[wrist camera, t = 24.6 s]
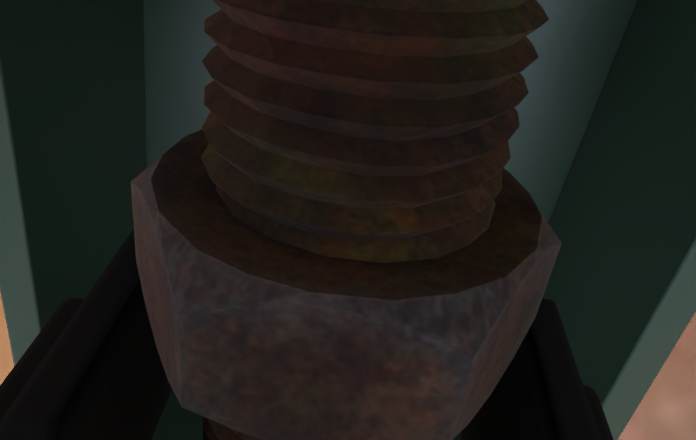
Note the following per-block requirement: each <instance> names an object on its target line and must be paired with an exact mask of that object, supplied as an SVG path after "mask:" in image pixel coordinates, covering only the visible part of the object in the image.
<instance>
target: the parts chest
mask: <svg viewBox="0 0 696 440" xmlns="http://www.w3.org/2000/svg"><path fill="white" fill-rule="evenodd" d="M536 1H537V2H538V3H539V4H540V5H541V6H542V8H543V9H544V11H545V13H546V15H547V16H548V18H549V20H548V21H547V22H545V23H544V24H543V25H542V26H541V27H539V28H538V29H536V30H535V31H533V32H532V33H530V34H529V35H527V36H526V37H527V38H528V39H529V40H530V41H531V42H532V44H533V46H534V48H535V50H536V52H537V54H538V58H537V59H536V60H535V61H534V62H533V63H531V64H530V65H529V66H528V67H527V68H525V69H524V70H523V71H522V72H520V74H521V75H522V76H523V77H524V79H525V82H526V85H527V88H528V91H529V93H528V94H527V95H526V97H525V98H524V99H523V100H522V101H521V102H520V103H519V105H517V106H516V107H514V108H515V109H516V110H517V112H518V117H519V125H520V126H519V128H518V129H517V130H516V131H515V133H514V134H513V135H512V136H511V138H510V139H509V140H508V142H509V149H510V156H511V158H510V160H509V161H508V162H507V164H506V165H505V167H504V169H506V170H507V171H509V172H510V173H511V174H512V175H513V176H514V177H515V178H516V180H517V181H518V182H519V183H520V184H521V185H522V186H523V187H524V188H525V189H526V190H527V191H528V192H529V193H530V195H531V197H532V198H533V200H534V202H535V204H536V205H537V207H538V208H539V210H540V211H541V213H542V214H543V216H544V217H545V219H546V220H547V222H548V223H549V225H550V226H551V228H552V229H553V231H554V232H555V234H556V235H557V237H558V238H559V240H560V241H561V243H562V244H561V247H560V250H559V252H558V255H557V258H556V261H555V264H554V267H553V269H552V272H551V275H550V278H549V281H548V283H547V286H546V289H545V292H544V295H543V297H542V298H545V299H551V300H553V301H554V302H555V304H556V306H557V309H558V312H559V315H560V318H561V321H562V324H563V327H564V330H565V333H566V336H567V339H568V342H569V345H570V348H571V351H572V354H573V357H574V360H575V363H576V366H577V369H578V372H579V375H580V378H581V381H582V384H583V385H585V386H590V387H591V388H592V389H594V390H595V392H596V394H597V396H598V398H599V400H600V403H601V405H602V408H603V411H604V414H605V417H606V419H607V422H608V425H609V428H610V431H611V434H612V436H613V439H614V440H618V438H619V436H620V435H621V433H622V431H623V430H624V428H625V426H626V425H627V423H628V422H629V420H630V418H631V417H632V415H633V413H634V412H635V410H636V408H637V407H638V405H639V404H640V402H641V400H642V399H643V397H644V395H645V394H646V392H647V390H648V389H649V387H650V386H651V384H652V382H653V381H654V379H655V377H656V376H657V374H658V372H659V371H660V369H661V368H662V366H663V364H664V363H665V361H666V359H667V358H668V356H669V354H670V353H671V351H672V349H673V348H674V346H675V345H676V343H677V341H678V340H679V338H680V336H681V335H682V333H683V331H684V330H685V328H686V327H687V325H688V323H689V322H690V320H691V318H692V317H693V315H694V313H695V312H696V0H536ZM219 10H221V8H220V7H219V6H218V5H217V4H216V3H215V2H214V1H213V0H0V291H1V297H2V302H3V307H4V313H5V318H6V323H7V329H8V334H9V339H10V345H11V350H12V355H13V361H14V366H15V365H16V364H17V363H18V361H19V360H20V358H21V357H22V356H23V354H24V353H25V352H26V350H27V349H28V348H29V346H30V345H31V344H32V342H33V341H34V339H35V338H36V337H37V335H38V334H39V333H40V331H41V330H42V329H43V327H44V326H45V325H46V323H47V322H48V320H49V319H50V318H51V316H52V315H53V314H54V312H55V311H56V310H57V308H58V307H59V306H60V305H61V304H62V303H63V302H64V300H66V299H68V298H70V297H71V298H77V299H83V300H84V299H85V298H86V296H87V295H88V294H89V292H90V291H91V289H92V288H93V286H94V285H95V283H96V282H97V281H98V279H99V278H100V276H101V275H102V273H103V272H104V270H105V269H106V268H107V266H108V265H109V263H110V262H111V260H112V259H113V257H114V256H115V255H116V253H117V252H118V250H119V249H120V247H121V246H122V245H123V243H124V242H125V240H126V239H127V237H128V236H129V234H130V233H131V232H132V230H133V229H134V223H133V208H132V193H131V181H132V180H133V179H134V178H136V177H137V176H138V175H139V174H140V173H142V172H143V171H144V170H145V169H146V168H147V167H149V166H150V165H151V164H152V163H153V162H155V161H156V160H157V159H158V158H159V157H160V156H162V155H163V154H164V153H165V152H166V151H168V150H169V149H170V148H171V147H172V146H174V145H175V144H176V143H177V142H179V141H180V140H181V139H182V138H183V137H185V136H186V135H189V134H191V133H194V132H196V131H199V130H202V126H203V124H204V122H205V120H206V119H207V117H208V115H209V113H210V112H211V111H210V110H209V109H208V108H207V107H206V106H205V105H204V90H205V86H206V85H208V84H209V83H211V82H212V81H213V80H214V79H213V78H212V77H211V75H210V74H209V72H208V70H207V69H206V67H205V65H204V64H203V62H202V60H203V59H204V58H205V57H206V55H207V54H208V53H209V51H210V50H211V49H212V48H213V47H215V46H216V45H217V44H216V43H215V42H214V41H213V40H212V39H211V38H210V37H209V36H208V35H207V34H206V33H205V32H204V29H205V19H206V18H208V17H209V16H211V15H213V14H214V13H216V12H218V11H219ZM151 440H203V420H202V416H201V415H199V414H197V413H194V412H192V411H189V410H187V409H185V408H182V407H181V405H180V403H179V401H178V399H177V397H176V395H175V393H174V391H173V389H172V391H171V393H170V396H169V398H168V401H167V403H166V405H165V408H164V410H163V413H162V415H161V417H160V420H159V422H158V425H157V427H156V429H155V432H154V434H153V436H152V439H151ZM453 440H461V432H460V433H459V434H458V435H457V436H456V437H455V438H454V439H453Z"/></svg>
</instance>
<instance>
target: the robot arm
mask: <svg viewBox="0 0 696 440" xmlns="http://www.w3.org/2000/svg"><path fill="white" fill-rule="evenodd" d="M171 391H172V387H171V385H170V383H169V381H168V379H167V376H166V373H165V370H164V367H163V365H162V362H161V359H160V356H159V353H158V350H157V347H156V344H155V340H154V336H153V332H152V328H151V325H150V321H149V317H148V313H147V309H146V306H145V301H144V296H143V291H142V286H141V282H140V277H139V272H138V267H137V262H136V252H135V237H134V229H133V230H132V232H131V233H130V234H129V236H128V237H127V239H126V240H125V242H124V243H123V245H122V246H121V247H120V249H119V250H118V252H117V253H116V255H115V256H114V257H113V259H112V260H111V262H110V263H109V265H108V266H107V268H106V269H105V270H104V272H103V273H102V275H101V276H100V278H99V279H98V281H97V282H96V283H95V285H94V286H93V288H92V289H91V291H90V292H89V294H88V295H87V296H86V298H85V299H84V300H83V299H77V298H71V297H70V298H68V299H66V300H64V302H63V303H62V304H61V305H60V306H59V307H58V308H57V310H56V311H55V312H54V314H53V315H52V316H51V318H50V319H49V320H48V322H47V323H46V325H45V326H44V327H43V329H42V330H41V331H40V333H39V334H38V335H37V337H36V338H35V339H34V341H33V342H32V344H31V345H30V346H29V348H28V349H27V350H26V352H25V353H24V354H23V356H22V357H21V358H20V360H19V361H18V363H17V364H16V365H15V367H14V368H13V369H12V371H11V372H10V373H9V375H8V376H7V377H6V379H5V380H4V381H3V383H2V384H1V386H0V440H151V439H152V436H153V434H154V432H155V429H156V427H157V425H158V422H159V420H160V417H161V415H162V413H163V410H164V408H165V405H166V403H167V401H168V398H169V396H170V393H171ZM461 440H614V439H613V436H612V434H611V431H610V428H609V425H608V422H607V419H606V417H605V414H604V411H603V408H602V405H601V403H600V400H599V398H598V396H597V394H596V392H595V390H594V389H592V388H591V387H590V386H585V385H583V384H582V381H581V378H580V375H579V372H578V369H577V366H576V363H575V360H574V357H573V354H572V351H571V348H570V345H569V342H568V339H567V336H566V333H565V330H564V327H563V324H562V321H561V318H560V315H559V312H558V309H557V306H556V304H555V302H554V301H553V300H551V299H545V298H542V300H541V303H540V306H539V309H538V312H537V314H536V317H535V319H534V321H533V323H532V325H531V326H530V328H529V330H528V332H527V334H526V336H525V337H524V339H523V341H522V343H521V345H520V347H519V349H518V350H517V352H516V354H515V356H514V358H513V359H512V361H511V363H510V364H509V366H508V367H507V369H506V371H505V372H504V374H503V375H502V377H501V379H500V380H499V382H498V383H497V385H496V387H495V388H494V390H493V392H492V393H491V395H490V396H489V398H488V399H487V400H486V402H485V403H484V404H483V406H482V407H481V408H480V410H479V411H478V412H477V413H476V415H475V416H474V417H473V419H472V420H471V421H470V423H469V424H468V425H467V426H466V427H465V428H464V429H463V430H462V431H461Z"/></svg>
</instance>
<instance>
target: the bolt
mask: <svg viewBox="0 0 696 440" xmlns="http://www.w3.org/2000/svg"><path fill="white" fill-rule="evenodd" d="M213 1H214V2H215V3H216V4H217V5H218V6H219V7H220V8H221V10H219V11H218V12H216V13H214V14H213V15H211V16H209V17H208V18H206V19H205V29H204V32H205V33H206V34H207V35H208V36H209V37H210V38H211V39H212V40H213V41H214V42H215V43H216V44H217V45H216V46H215V47H213V48H212V49H211V50H210V51H209V53H208V54H207V55H206V57H205V58H204V59H203V60H202V62H203V64H204V65H205V67H206V69H207V70H208V72H209V74H210V75H211V77H212V78H213V79H214V80H213V81H212V82H211V83H209V84H208V85H206V86H205V90H204V105H205V106H206V107H207V108H208V109H209V110H210V111H211V112H210V113H209V115H208V117H207V119H206V120H205V122H204V124H203V126H202V130H199V131H196V132H194V133H191V134H189V135H186V136H185V137H183V138H182V139H181V140H180V141H179V142H177V143H176V144H175V145H174V146H172V147H171V148H170V149H169V150H168V151H166V152H165V153H164V154H163V155H162V156H160V157H159V158H158V159H157V160H156V161H155V162H153V163H152V164H151V165H150V166H149V167H147V168H146V169H145V170H144V171H143V172H142V173H140V174H139V175H138V176H137V177H136V178H134V179H133V180H132V181H131V193H132V208H133V223H134V237H135V252H136V262H137V267H138V272H139V277H140V282H141V286H142V291H143V296H144V301H145V306H146V309H147V313H148V317H149V321H150V325H151V328H152V332H153V336H154V340H155V344H156V347H157V350H158V353H159V356H160V359H161V362H162V365H163V367H164V370H165V373H166V376H167V379H168V381H169V383H170V385H171V387H172V389H173V391H174V393H175V395H176V397H177V399H178V401H179V403H180V405H181V407H182V408H185V409H187V410H189V411H192V412H194V413H197V414H199V415H201V416H202V420H203V440H453V439H454V438H455V437H456V436H457V435H458V434H459V433H460V432H461V431H462V430H463V429H464V428H465V427H466V426H467V425H468V424H469V423H470V421H471V420H472V419H473V417H474V416H475V415H476V413H477V412H478V411H479V410H480V408H481V407H482V406H483V404H484V403H485V402H486V400H487V399H488V398H489V396H490V395H491V393H492V392H493V390H494V388H495V387H496V385H497V383H498V382H499V380H500V379H501V377H502V375H503V374H504V372H505V371H506V369H507V367H508V366H509V364H510V363H511V361H512V359H513V358H514V356H515V354H516V352H517V350H518V349H519V347H520V345H521V343H522V341H523V339H524V337H525V336H526V334H527V332H528V330H529V328H530V326H531V325H532V323H533V321H534V319H535V317H536V314H537V312H538V309H539V306H540V303H541V300H542V297H543V295H544V292H545V289H546V286H547V283H548V281H549V278H550V275H551V272H552V269H553V267H554V264H555V261H556V258H557V255H558V252H559V250H560V247H561V244H562V243H561V241H560V240H559V238H558V237H557V235H556V234H555V232H554V231H553V229H552V228H551V226H550V225H549V223H548V222H547V220H546V219H545V217H544V216H543V214H542V213H541V211H540V210H539V208H538V207H537V205H536V204H535V202H534V200H533V198H532V197H531V195H530V193H529V192H528V191H527V190H526V189H525V188H524V187H523V186H522V185H521V184H520V183H519V182H518V181H517V180H516V178H515V177H514V176H513V175H512V174H511V173H510V172H509V171H507V170H506V169H504V167H505V165H506V164H507V162H508V161H509V160H510V158H511V156H510V149H509V142H508V140H509V139H510V138H511V136H512V135H513V134H514V133H515V131H516V130H517V129H518V128H519V126H520V125H519V117H518V112H517V110H516V109H515V108H514V107H516V106H517V105H519V103H520V102H521V101H522V100H523V99H524V98H525V97H526V95H527V94H528V93H529V91H528V88H527V85H526V82H525V79H524V77H523V76H522V75H521V74H520V72H522V71H523V70H524V69H525V68H527V67H528V66H529V65H530V64H531V63H533V62H534V61H535V60H536V59H537V58H538V54H537V52H536V50H535V48H534V46H533V44H532V42H531V41H530V40H529V39H528V38H527V37H526V36H527V35H529V34H530V33H532V32H533V31H535V30H536V29H538V28H539V27H541V26H542V25H543V24H544V23H545V22H547V21H548V20H549V18H548V16H547V15H546V13H545V11H544V9H543V8H542V6H541V5H540V4H539V3H538V2H537V1H536V0H213Z"/></svg>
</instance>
